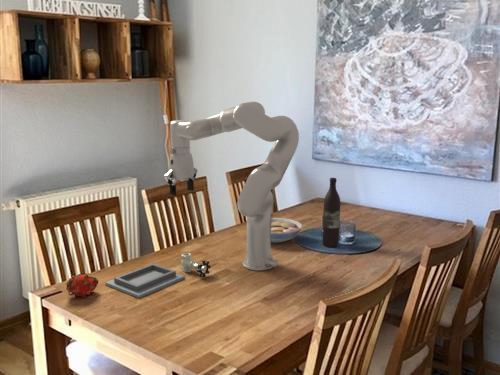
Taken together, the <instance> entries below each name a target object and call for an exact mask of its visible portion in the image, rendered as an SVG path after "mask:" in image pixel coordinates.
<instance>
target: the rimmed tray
mask: <svg viewBox="0 0 500 375" xmlns="http://www.w3.org/2000/svg"><path fill="white" fill-rule="evenodd" d="M176 271H177V270H174V269H171V268H167V267H166V266H161V265H159V264H156V263H150V264H148V265H145V266H142V267H140V268H137V269H134V270H132V271H128V272H126V273H123V274H121V275H118V276H115V277H114V278H113V279H110V280H107V281H106V282H104V283H105V286H108V287H110V288H112V289H114V290H117V291H119V292H121V293H124V294H127V295H130V296H132V297H135V298H137V299H140V298H142V297H146V296H147V295H150V294H152V293H154V292H157V291H160V290H161V289H163V288H166V287H169V286H171V285H173V284H175V283H178V282H180V281H182V280H184V279H185V278H186V276H185V275H182V274H180V273H177V272H176Z"/></svg>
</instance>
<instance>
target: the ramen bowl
mask: <svg viewBox="0 0 500 375" xmlns="http://www.w3.org/2000/svg"><path fill="white" fill-rule="evenodd" d="M302 228H303V224H302V223H301V222H300V221H296V220H294V219H290V218H286V217H285V218H283V217H271V244H272V243H273V244H281V243H284V242H287V241H290V240H293V238H295V237H296V236H297V235H298V234H299V233H300V232H301V230H302Z"/></svg>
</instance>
